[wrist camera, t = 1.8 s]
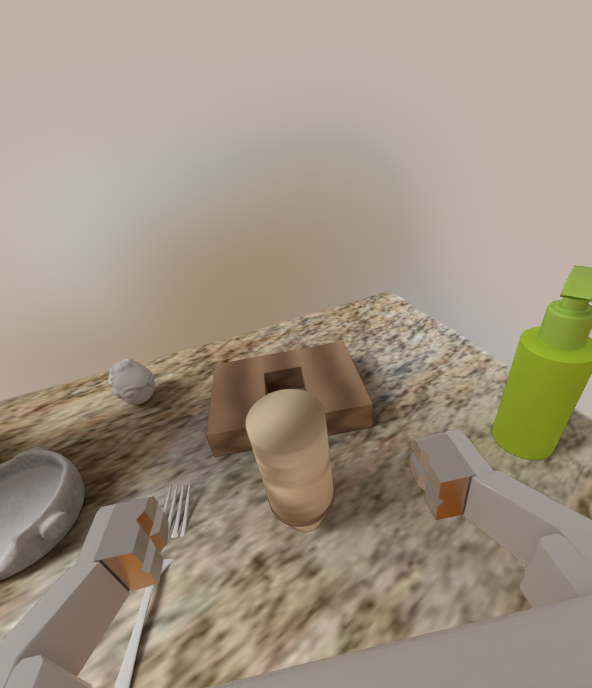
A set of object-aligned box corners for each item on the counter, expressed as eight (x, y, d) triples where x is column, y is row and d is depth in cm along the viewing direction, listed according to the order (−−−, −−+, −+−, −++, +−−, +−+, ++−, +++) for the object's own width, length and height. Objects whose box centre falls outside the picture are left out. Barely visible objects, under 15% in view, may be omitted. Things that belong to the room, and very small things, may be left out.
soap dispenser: (482, 448, 36) (530, 283, 25) (500, 411, 40) (550, 253, 29) (545, 477, 33) (634, 299, 21) (559, 433, 36) (641, 263, 25)
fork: (23, 927, 17) (2, 933, 16) (171, 493, 37) (166, 484, 36) (81, 929, 17) (63, 935, 16) (198, 491, 37) (194, 482, 36)
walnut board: (215, 457, 40) (205, 435, 38) (222, 384, 52) (215, 364, 49) (372, 426, 41) (372, 403, 38) (344, 361, 52) (343, 341, 50)
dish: (99, 531, 34) (75, 506, 31) (-70, 639, 28) (-119, 619, 25) (82, 448, 44) (63, 423, 42) (-45, 513, 38) (-77, 489, 36)
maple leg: (262, 517, 33) (228, 423, 25) (302, 473, 37) (284, 379, 29) (308, 561, 29) (285, 465, 21) (349, 507, 33) (342, 409, 25)
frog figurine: (145, 381, 55) (128, 348, 51) (171, 393, 51) (154, 358, 48) (112, 404, 51) (91, 370, 47) (138, 419, 47) (117, 383, 44)
